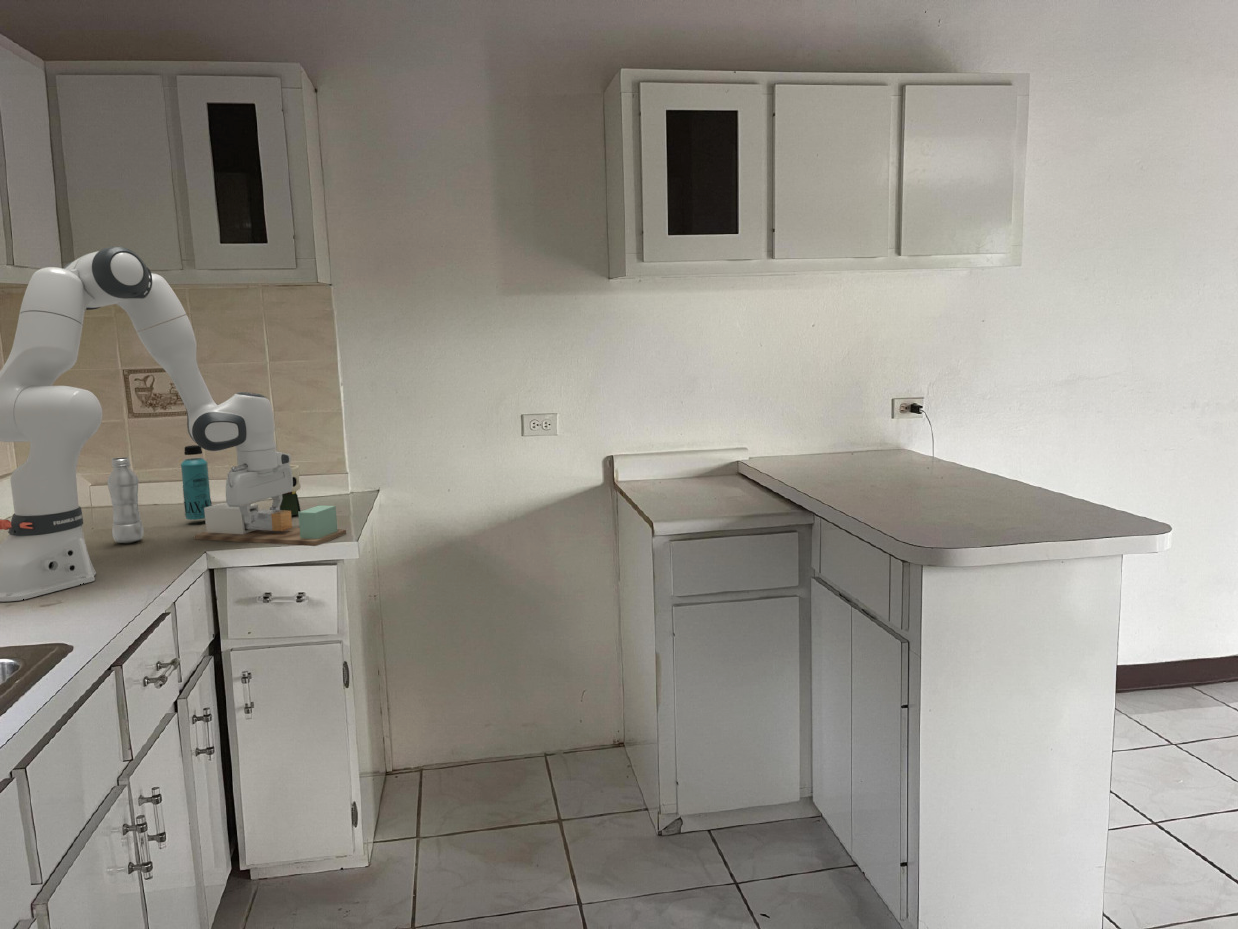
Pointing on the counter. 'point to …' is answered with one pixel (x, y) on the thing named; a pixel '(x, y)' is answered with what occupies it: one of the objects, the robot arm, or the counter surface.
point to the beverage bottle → (195, 484)
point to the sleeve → (225, 519)
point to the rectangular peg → (270, 520)
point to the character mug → (292, 494)
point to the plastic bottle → (124, 502)
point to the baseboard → (270, 537)
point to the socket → (317, 522)
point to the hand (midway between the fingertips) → (262, 518)
